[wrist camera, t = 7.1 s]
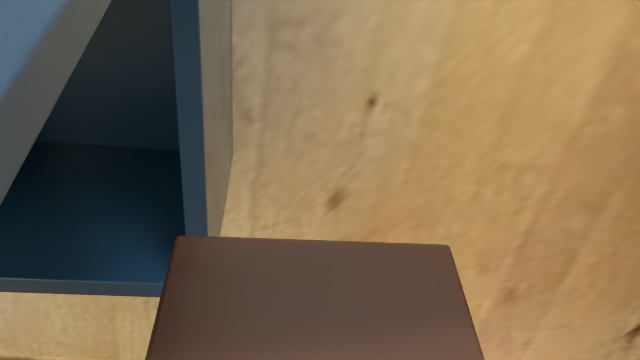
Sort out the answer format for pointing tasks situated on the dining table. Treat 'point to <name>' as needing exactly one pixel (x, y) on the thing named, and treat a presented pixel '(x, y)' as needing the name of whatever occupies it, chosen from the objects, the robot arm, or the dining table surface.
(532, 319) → the dining table surface
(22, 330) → the dining table surface
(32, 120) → the tin lid
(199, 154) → the tea tin
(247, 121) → the dining table surface
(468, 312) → the walnut block
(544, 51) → the dining table surface
